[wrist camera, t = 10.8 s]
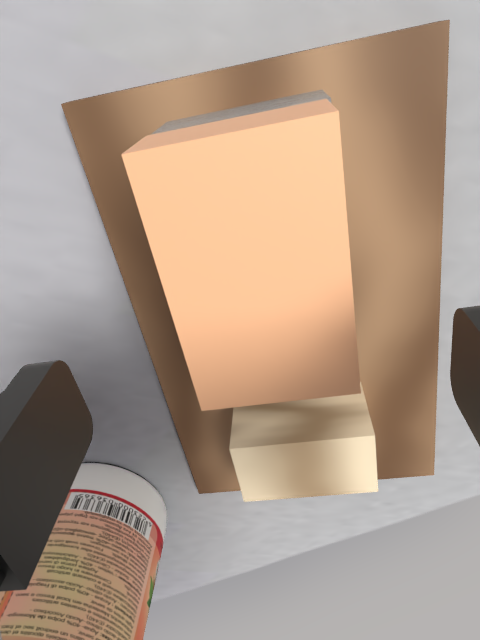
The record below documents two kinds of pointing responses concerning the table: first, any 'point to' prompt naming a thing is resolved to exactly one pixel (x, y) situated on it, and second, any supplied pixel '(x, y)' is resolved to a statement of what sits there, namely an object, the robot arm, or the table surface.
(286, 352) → the cover
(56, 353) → the table surface
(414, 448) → the twin stand
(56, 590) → the fruit juice
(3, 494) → the robot arm
